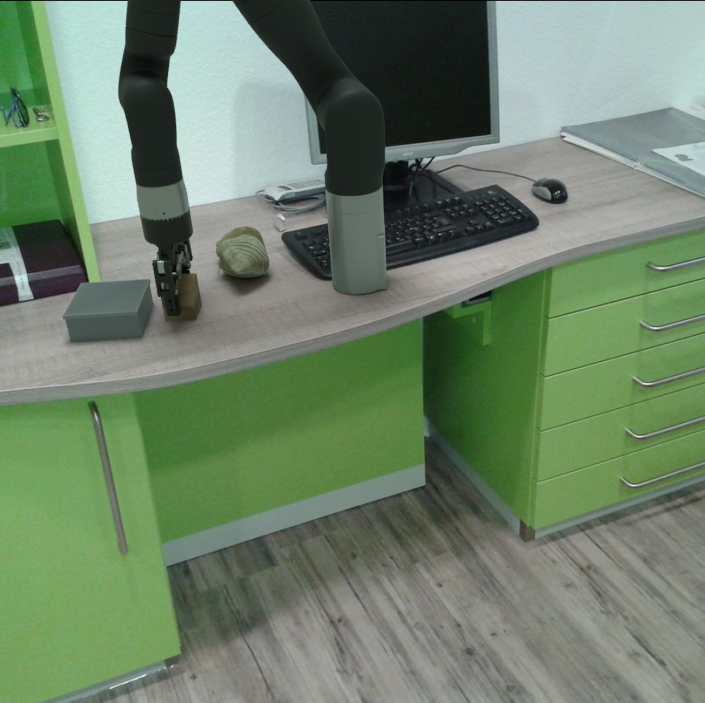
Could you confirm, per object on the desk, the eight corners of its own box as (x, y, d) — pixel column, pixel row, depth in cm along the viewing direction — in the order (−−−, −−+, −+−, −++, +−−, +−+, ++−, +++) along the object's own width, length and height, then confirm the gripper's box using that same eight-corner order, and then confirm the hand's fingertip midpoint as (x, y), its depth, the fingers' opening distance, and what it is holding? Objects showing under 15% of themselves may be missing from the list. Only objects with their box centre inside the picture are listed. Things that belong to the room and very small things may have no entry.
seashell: (198, 235, 150) (229, 201, 144) (241, 251, 155) (272, 219, 150) (206, 297, 142) (239, 263, 136) (251, 311, 148) (284, 280, 142)
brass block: (202, 305, 138) (196, 273, 135) (196, 320, 133) (190, 287, 130) (172, 306, 138) (166, 274, 135) (165, 321, 134) (158, 288, 131)
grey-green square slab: (155, 305, 139) (150, 278, 137) (142, 339, 129) (136, 311, 127) (87, 309, 139) (81, 283, 137) (69, 344, 129) (62, 316, 127)
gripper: (178, 225, 120) (194, 323, 128) (198, 191, 132) (211, 282, 140) (127, 227, 120) (146, 324, 129) (151, 192, 133) (168, 283, 141)
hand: (180, 302), depth 135 cm, fingers open, 8 cm apart
